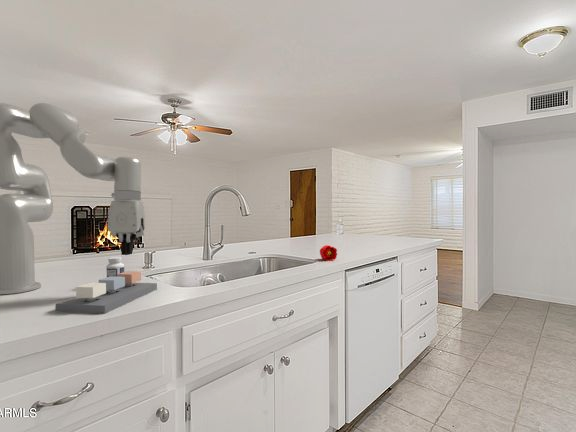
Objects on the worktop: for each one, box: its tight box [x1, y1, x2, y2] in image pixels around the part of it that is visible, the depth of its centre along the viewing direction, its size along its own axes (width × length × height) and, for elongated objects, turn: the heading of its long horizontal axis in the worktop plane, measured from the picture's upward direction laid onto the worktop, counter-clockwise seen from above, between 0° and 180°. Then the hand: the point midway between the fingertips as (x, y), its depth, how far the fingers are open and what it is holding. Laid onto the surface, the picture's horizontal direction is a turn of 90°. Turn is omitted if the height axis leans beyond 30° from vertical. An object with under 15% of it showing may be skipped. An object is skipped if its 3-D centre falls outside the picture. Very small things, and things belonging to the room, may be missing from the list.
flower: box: [319, 244, 338, 262], centre depth 160 cm, size 8×8×8 cm
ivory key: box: [75, 282, 106, 302], centre depth 83 cm, size 5×5×5 cm
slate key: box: [98, 276, 125, 294], centre depth 91 cm, size 5×5×5 cm
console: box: [54, 282, 158, 314], centre depth 91 cm, size 14×24×2 cm, turn 172°
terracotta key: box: [117, 270, 142, 287], centre depth 99 cm, size 5×5×5 cm
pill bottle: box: [106, 256, 125, 278], centre depth 108 cm, size 5×5×10 cm
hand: (126, 254), depth 99 cm, fingers closed
